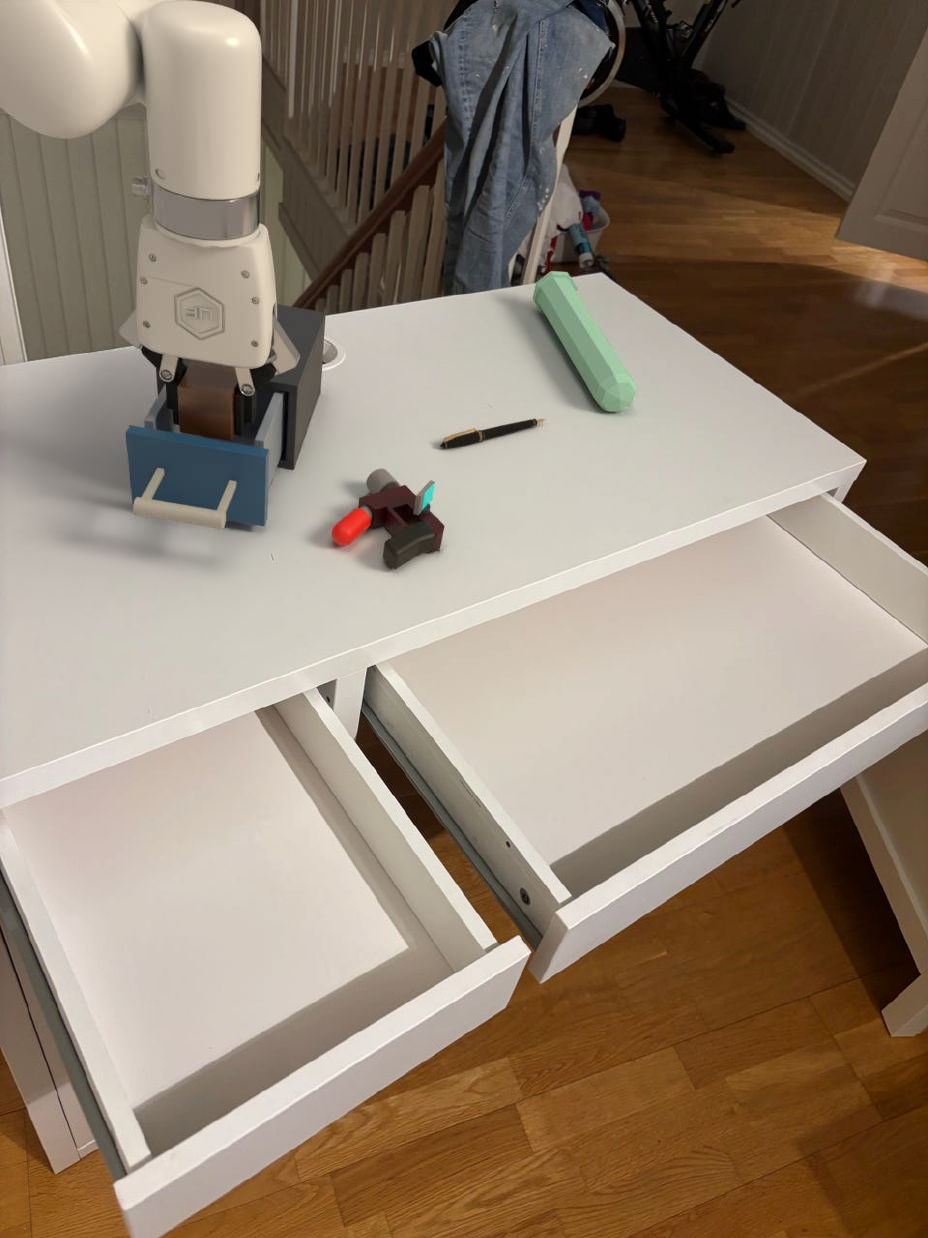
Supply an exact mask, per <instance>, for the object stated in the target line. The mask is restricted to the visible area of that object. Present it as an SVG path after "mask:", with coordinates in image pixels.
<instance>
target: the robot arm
mask: <svg viewBox="0 0 928 1238" xmlns="http://www.w3.org/2000/svg"><path fill="white" fill-rule="evenodd" d="M262 55H263V54H262V41H261V36H260V33H259V30H258V29H257V26H256V25H255V23H254V22H253V21H252V20H251V19H250V18H249V17H248V16H247V15H246V14H243V13H242V12H240V11H238V10H236V9H233V8H231V7H228V6H225V5H221V4H218V3H213V2H207V1H202V0H0V109H2V110H3V111H4V112H5V113H6V114H8V115H10V116H11V118H13V119H14V120H16V121H17V122H18V123H20V124H22V125H23V126H25V127H27V128H28V129H30V130H32V131H34V132H36V133H38V134H41V135H43V136H47V137H50V138H53V139H62V140H69V139H77V138H78V139H79V138H82V137H85V136H87V135H90V134H92V133H93V132H95V131H96V130H97V129H99V128H100V127H102V126H103V125H105V124H106V123H107V122H108V121H109V120H110V119H111V118H113V116H115V115H116V114H117V113H118V112H119V111H120V110H121V109H124V108H127V107H130V106H134V105H136V104H141V105H143V106H144V107H145V108H146V110H145V111H146V126H147V141H148V142H147V143H148V156H149V170H150V171H149V172H150V173H149V175H146V174H145V175H144V176H139V175H133V176H132V179H131V194H132V195H133V196H134V197H135V196H136V197H141V198H142V199H143V200H147V202H148V205H149V212H148V213H147V214H146V215H144V216H143V217H142V219H141V224H140V229H139V230H140V231H139V236H138V246H137V247H138V248H137V259H136V261H137V263H136V297H135V298H136V301H135V302H136V306H135V308H134V309H133V310H132V311H131V312H130V314H129V315H128V317H127V318H126V319H125V320H124V321H123V323H122V324H121V325H120V327H119V329H118V334H119V336H120V337H122V338H123V339H124V340H125V341H127V343H129V344H130V345H131V346H133V347H134V348H135V349H137V350H139V351H140V352H141V354H142V355H143V357H144V358H145V359H146V360H147V361H148V362H149V363H150V364H151V365H152V366H153V367H154V368H155V370H156V369H157V370H158V371H159V375H160V378H161V379H162V380H164V381H165V382H166V398H167V408H168V409H172V411H173V424H175V425H179V410H178V391H177V387H178V385H179V383H180V381H181V380H182V378H183V376H184V374H185V372H186V371H187V369H188V366H185V364H184V363H183V361H184V358H185V359H190V360H196V361H202V362H207V363H213V364H219V365H225V366H230V367H234V369H235V373H236V377H237V381H238V388H237V390H236V392H235V394H234V433H236V435H238V436H243V433H244V431H245V429H246V426H247V424H248V423H252V424H253V423H254V420H255V417H256V391H257V389H258V388H260V387H261V386H262V385H264V384H265V383H267V382H268V381H270V380H271V379H272V378H273V377H274V376H276V375H278V374H281V373H284V372H286V371H288V370H290V369H292V368H295V367H296V366H297V363H298V361H299V358H300V354H299V352H298V351H297V349H296V348H295V346H294V345H293V343H292V342H291V340H290V338H289V337H288V335H287V334H286V332H285V331H284V329H283V328H282V326H281V325H280V323H279V322H278V320H277V304H278V303H277V299H278V298H277V287H276V284H277V283H276V273H275V266H274V257H273V250H272V246H271V239H270V235H269V230H268V228H267V226H266V225H264V224H262V223H260V222H261V149H262V148H261V146H262V145H261V141H262V140H261V139H262V137H261V135H262V134H261V133H262V67H263V65H262V62H263V61H262V59H263V58H262ZM271 347H272V349H273V350H274V352H275V353H276V354H275V355H274V356H272V357H268V356H269V353H270V348H271Z"/></svg>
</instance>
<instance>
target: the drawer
mask: <svg viewBox="0 0 928 1238" xmlns="http://www.w3.org/2000/svg"><path fill="white" fill-rule="evenodd" d="M288 398H289V392H286V391H280V390H274V389H269V388H263V387H260V388H258V389H257V391H256V417H255V420H254V423H253V424H252V423H248V424H247V426H246V429H245V431H244V433H243V436H238V435H236V433H235V435H234V437H233V440H232V441H226V440H221V439H215V438H209V437H203V436H197V435H192V434H186V433H180V428H179V425H175V424H173V411H172V409H168V408H167V398H166V384H165V385H164V387H163V389H162V390H161V392H160V394H159V396H158V395H157V397H156V399H155V401H154V402H153V404H152V406H151V408H150V409H149V410H148V412H147V414H146V416H145V417H144V419H143V426H138V425H132V424H130V425H128V428H127V430H126V431H125V432H124V433H125V434H124V435H125V442H126V443H125V444H126V451H127V452H126V454H127V464H128V475H129V484H130V494H131V495H130V496H131V504H132V505H133V506H132V512H133V514H134V515H136V516H142V517H147V518H148V517H149V518H153V519H161V520H166V521H171V522H178V523H183V524H190V525H196V526H202V527H206V528H213V529H219V530H224V529H225V526H226V523H227V521H228V522H234V523H239V524H240V523H241V524H246V525H253V526H257V527H258V526H259V527H265V526H266V523H267V520H268V509H269V508H268V506H269V504H268V503H269V489H270V487H271V485H272V481H273V478H274V475H275V474H276V470H277V468H278V467H277V465H278V463H279V460H280V457H281V454H282V452H283V449H284V446H285V444H286V441H287V422H288Z"/></svg>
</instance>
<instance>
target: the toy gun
mask: <svg viewBox="0 0 928 1238" xmlns="http://www.w3.org/2000/svg"><path fill="white" fill-rule="evenodd" d="M365 485H366V488H367V490H368V491H369V492H370V494H367V495H363V496H361V497H358V503H357V507H355V508H353V509H352V510H351V511H349V513H347V514H346V515H345V516H344V517H343V518H341V519H340V520H339V521H338V522H337V523H335V525H333V526H332V529H331V532H330V533H331V538H332V540H333V542H334V543H336V544H337V545H339V546H342V547H343V546H348V545H350V544H352V543H353V542H354V541H355V540H356V539H357V538H359V537H360V535H362V534H363V533H364V532H366V530H367V529H369V527H372V528H373V529H374V528H377V527H381V526H384V527H385V529H386V530H387V531H388V532H389V533H390V534H391V535H392V536H391V537H390V538H388V539H387V540H385V542H384V544H383V549H382V550H383V551H382V558H383V560H384V561H385V562H386V564H388V566H389V567H390V568H391V569H393V570H397V569H398V568H400V567H401V566H403V565H405V564H406V563H408V562H409V561H411V560H412V559H415V558H416V557H417V556H419V555H423V554H426V553H429V552H432V553H436V552H439V551H440V549H441V547H442V542H443V537H444V532H445V524H444V523H442V521H441V520H440V519H438V517H437V516H436V515H435V514H434V513H433V512H432V511H431V507H432V506H431V504H430V503H431V502H432V500H433V496H434V490H435V486H436V482H435V481H434V480H432V479H430V480H429V481H428V482H427V483H426V484H425V485H424V486H423V487H422V489H421V490H420V491H419V492H418V493H417V494H415V493H414V492H413V491H412V490H411V489H410V488H409V487H408V486H407V485H406V484H403V485H401V484H400V483H399V482H398V480H396V478H395V477H394V476H393V475H392V474H391V473H390V472H388V470H387V469H386V468H377V469H375V470H373V471H372V472H371V473H370V474H369V475H368V476H367V478H366V482H365Z"/></svg>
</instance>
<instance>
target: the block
mask: <svg viewBox="0 0 928 1238" xmlns="http://www.w3.org/2000/svg"><path fill="white" fill-rule="evenodd" d="M237 388H238V381H237V377H236V373H235V369H234V368H230V367H224V366H219V365H213V364H207V363H202V362H196V361H192V362H191V364H190V365H189V367H188V369H187V371H186V372H185V374H184V376H183V378H182V380H181V381H180V383H179V385H178V387H177V391H178V410H179V428H180V433H186V434H192V435H197V436H203V437H209V438H215V439H221V440H226V441H232V440H233V437H234V435H235V433H234V394H235V392H236V390H237Z"/></svg>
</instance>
